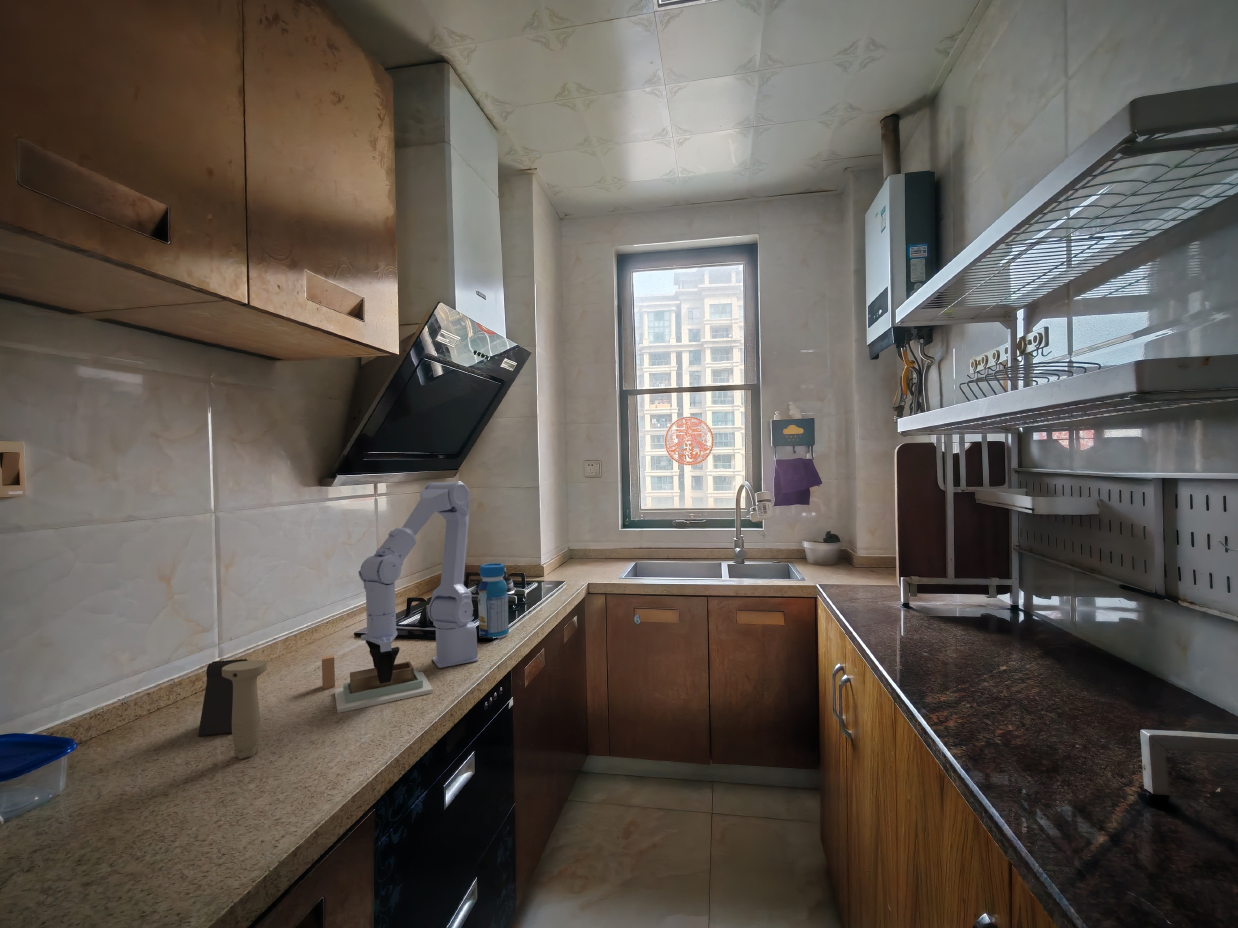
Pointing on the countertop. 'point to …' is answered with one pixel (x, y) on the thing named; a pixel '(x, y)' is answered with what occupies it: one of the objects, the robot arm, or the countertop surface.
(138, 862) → the countertop surface
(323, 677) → the tan square block
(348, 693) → the cradle
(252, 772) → the countertop surface
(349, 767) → the countertop surface
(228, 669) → the handle
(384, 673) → the robot arm
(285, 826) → the countertop surface
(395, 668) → the tan box sleeve
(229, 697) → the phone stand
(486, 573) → the beverage bottle
